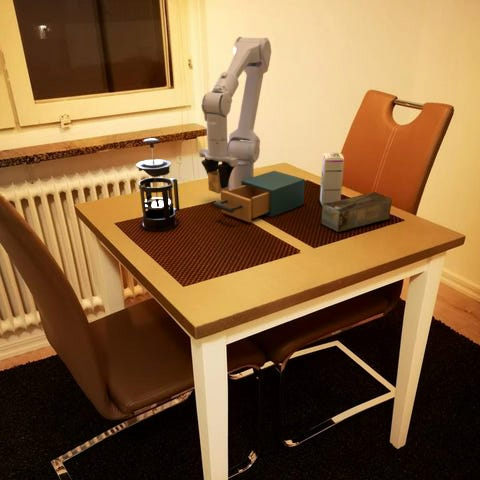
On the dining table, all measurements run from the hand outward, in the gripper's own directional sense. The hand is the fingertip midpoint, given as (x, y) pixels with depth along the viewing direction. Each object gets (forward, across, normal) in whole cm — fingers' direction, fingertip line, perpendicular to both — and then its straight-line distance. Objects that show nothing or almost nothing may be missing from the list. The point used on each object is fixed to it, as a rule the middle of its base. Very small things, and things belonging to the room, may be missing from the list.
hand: (218, 185), depth 148 cm
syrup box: (+6, +23, +25) cm, 34 cm away
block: (+1, 0, 0) cm, 1 cm away
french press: (+6, 0, -22) cm, 23 cm away
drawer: (+5, +12, -1) cm, 13 cm away
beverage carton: (+6, +37, +18) cm, 42 cm away
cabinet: (+6, +12, +11) cm, 17 cm away
